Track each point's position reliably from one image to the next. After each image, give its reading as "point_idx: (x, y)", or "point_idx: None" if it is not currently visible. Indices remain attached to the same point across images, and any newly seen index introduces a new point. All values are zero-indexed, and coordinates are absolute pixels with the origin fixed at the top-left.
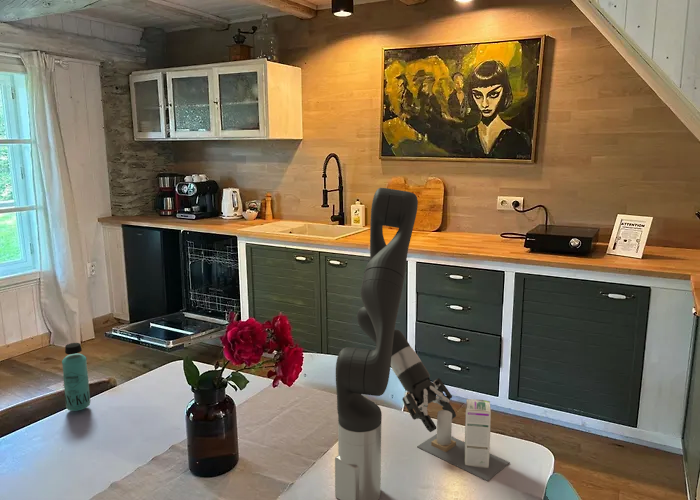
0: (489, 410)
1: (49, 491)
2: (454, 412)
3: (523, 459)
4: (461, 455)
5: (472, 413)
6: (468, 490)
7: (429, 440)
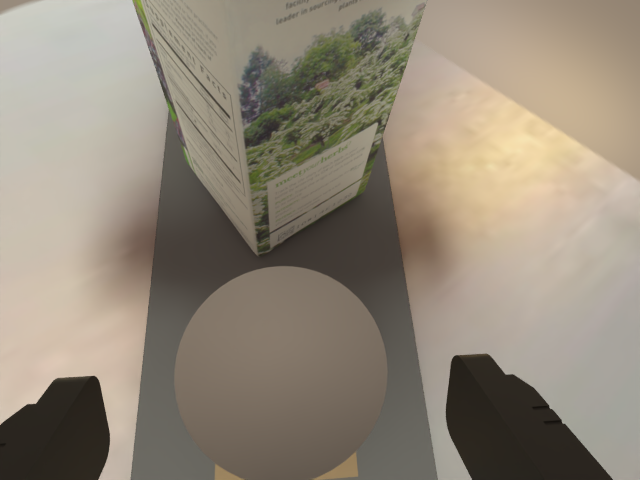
0: None
1: None
2: (40, 401)
3: (94, 62)
4: (298, 256)
5: None
6: (482, 105)
7: None
